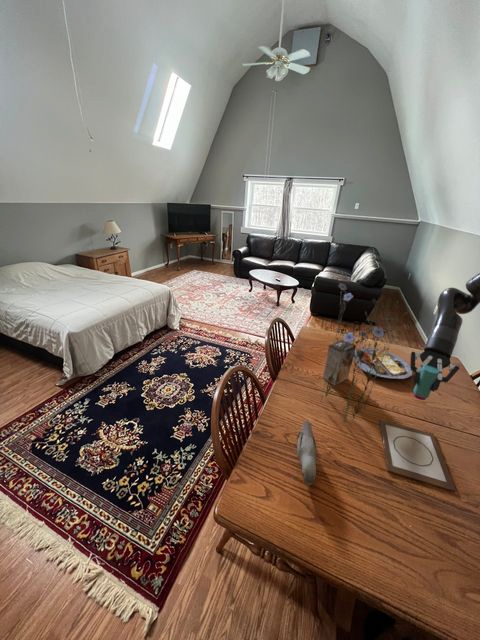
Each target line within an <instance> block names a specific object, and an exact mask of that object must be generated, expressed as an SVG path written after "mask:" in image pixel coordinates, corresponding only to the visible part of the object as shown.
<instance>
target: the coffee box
mask: <svg viewBox="0 0 480 640" xmlns="http://www.w3.org/2000/svg"><path fill="white" fill-rule="evenodd" d="M340 340H341V341H340ZM340 340H338V344H339V342H340V344H339V345H338V347H337V341H335V344H334V343H331V344H329V346H328V350H327V355H326V360H325V365H324V369H323V373H322V374H323V375H322V379H323V380H324V381H325V380H326V382H328V381H329V383H330V382H331V381H330V380H329V378H330V377H331V380H333V379H334V378H335V379H334V381H332V382H331V383H332V384H333V385H332V384H331V385H332V386H337V385H338V384H340V383H342V382H344V381H345V380H347V379H349V375H350V371H351V367H352V364H353V360H354V358H353V354H354V351H355V350H354V349H357V346H356V345H357V344H356V345H355V344H354V345H355V346H356V347H355V348H354V349H352V346H353V343H352V342H350V343H347V342H344V340H343V343H344V344H343V343H341V342H342V339H340ZM346 343H347V344H346ZM342 344H343V347H342ZM333 345H334V347H333ZM345 345H346V346H345ZM344 347H346V348H345V349H344ZM332 348H333V349H334V350H332ZM343 349H344V350H343ZM351 349H352V350H351ZM341 350H343V351H342V352H341ZM350 350H351V352H350V353H349V351H350ZM332 351H333V352H335V353H333V352H332ZM331 352H332V353H331ZM340 353H341V354H340ZM347 353H348V354H347ZM335 354H336V355H338V358H339V359H338V358H337V357H336V355H335ZM346 354H347V355H346ZM345 355H346V356H345ZM330 356H331V357H330ZM344 356H345V357H346V358H345V357H344ZM343 357H344V358H345V359H344V360H341V359H342V358H343ZM330 359H331V361H329V360H330ZM333 359H334V362H333ZM337 359H338V362H339V361H340V360H341V361H340V362H339V363H338V364H337V367H336V363H337ZM329 363H332V364H329ZM334 363H335V364H334ZM328 366H329V368H328ZM335 367H336V370H335ZM327 369H328V370H327ZM333 369H334V370H335V374H334V376H333V378H332V372H334V371H333ZM327 371H329V372H328V374H327ZM326 376H327V377H326ZM326 378H327V379H326ZM335 381H336V382H335ZM333 382H334V383H333Z"/></svg>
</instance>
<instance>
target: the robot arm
mask: <svg viewBox="0 0 480 640" xmlns="http://www.w3.org/2000/svg"><path fill="white" fill-rule="evenodd" d="M465 288H466V290H467V292H468V293H469V294H468V293H467V292H465V291H463V290H461V289H458V288H456V287H447V288H445V289H444V290H442V291H441V293H439V296H438V298H437V313H436V314H437V315H436V320H435V322H434V325H433V328H432V329H431V330H430V332H429V335H428V337H427V341H426V343H425V345H424V347H423V351H421V352H420V353H419V352H416V351H411V352H410V361H409V362H410V364H409V365H410V369H411V370H412V372H414V375H413V377H412V383H413V385H416V384H417V381H418V379H419V376H420V373H421V370H422V368H423V366H424V365H429V366H432V367H435V368H437V369H438V370H439V374H438V376H437V378H436V380H435V383H434V385H433V387H432V390H431V392H433V393H434V392H435V391H436V392H437V391H438V390H439V387H440V385H441V383H445V384H446V383H448V382H450V380H451V379H452V378H453V377H454V375H456V374H457V372H458V371H459V370H460V366H459V365H455V364H453V363H451V358H452V355H453V352H454V349H455V347H456V344H457V341H458V339H459V338H458V337H459V333H460V330H461V327H462V325H463V318H462V316H461V315H465V314H469V313H471V312H472V311H473V310H475V309H476V308H477V306H479V305H480V272H479V273H476V274H475V275H474V276H473V277H470V279H469V280H468V281H466V283H465ZM418 359H420V361H421V363H420V365H419V366H418V367H417V366H416V360H418ZM445 368H448V371H449V373H448V374H447V375H446V376H443V369H445Z"/></svg>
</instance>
